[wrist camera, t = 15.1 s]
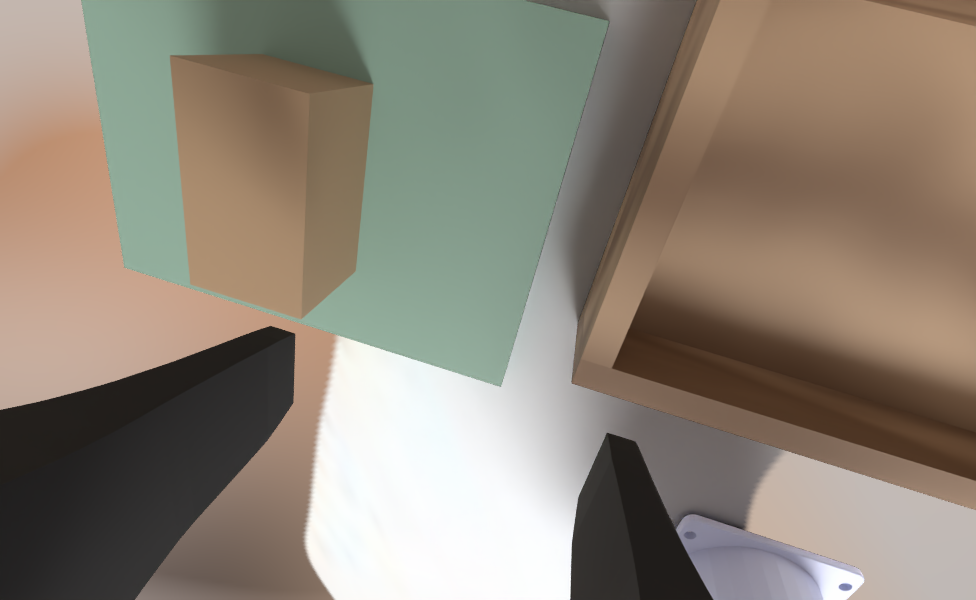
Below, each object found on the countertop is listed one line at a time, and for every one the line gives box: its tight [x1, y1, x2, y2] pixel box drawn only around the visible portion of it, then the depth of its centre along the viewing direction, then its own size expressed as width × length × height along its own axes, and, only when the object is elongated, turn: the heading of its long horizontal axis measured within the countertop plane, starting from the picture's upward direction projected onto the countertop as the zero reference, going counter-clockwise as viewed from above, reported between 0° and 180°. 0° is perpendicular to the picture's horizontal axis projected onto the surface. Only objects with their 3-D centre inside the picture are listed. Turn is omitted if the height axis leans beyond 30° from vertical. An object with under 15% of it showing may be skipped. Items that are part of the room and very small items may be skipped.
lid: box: [81, 0, 609, 387], centre depth 17 cm, size 14×18×5 cm
